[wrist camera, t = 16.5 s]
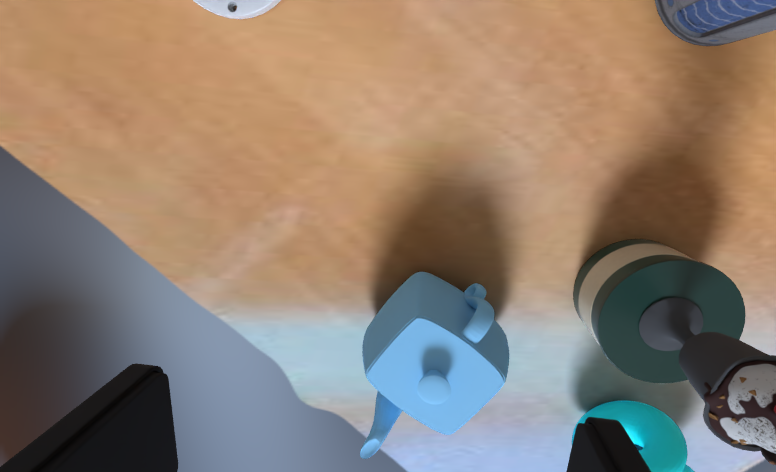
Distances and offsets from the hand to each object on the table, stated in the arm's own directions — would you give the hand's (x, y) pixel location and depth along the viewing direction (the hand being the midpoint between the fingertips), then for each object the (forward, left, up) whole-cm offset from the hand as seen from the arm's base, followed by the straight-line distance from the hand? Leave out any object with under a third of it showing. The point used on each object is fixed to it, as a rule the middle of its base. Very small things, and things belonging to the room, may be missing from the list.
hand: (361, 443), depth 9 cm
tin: (+8, +22, -32) cm, 40 cm away
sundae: (+8, +22, -26) cm, 35 cm away
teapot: (+15, +2, -32) cm, 36 cm away
